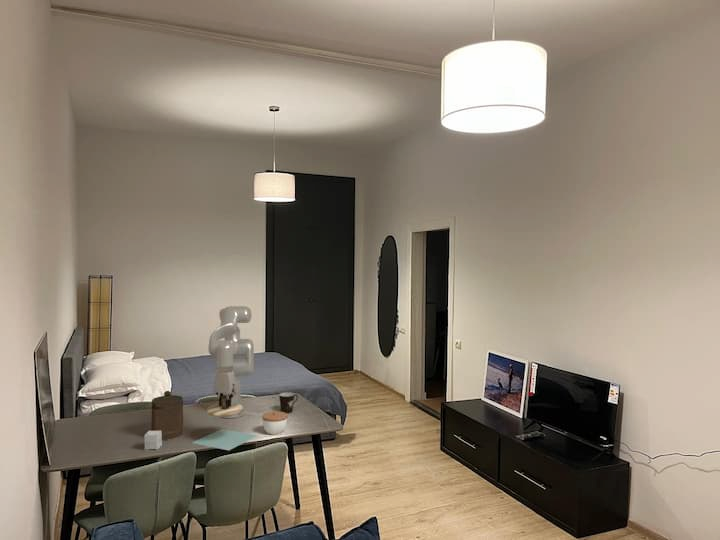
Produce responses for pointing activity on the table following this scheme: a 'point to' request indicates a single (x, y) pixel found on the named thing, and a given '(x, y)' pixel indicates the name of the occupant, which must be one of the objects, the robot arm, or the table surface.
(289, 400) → the coffee mug
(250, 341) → the robot arm
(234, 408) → the maple lid
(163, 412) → the wooden container
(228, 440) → the rubber mat
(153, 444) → the skincare box
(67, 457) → the table surface
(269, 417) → the lidded bowl
